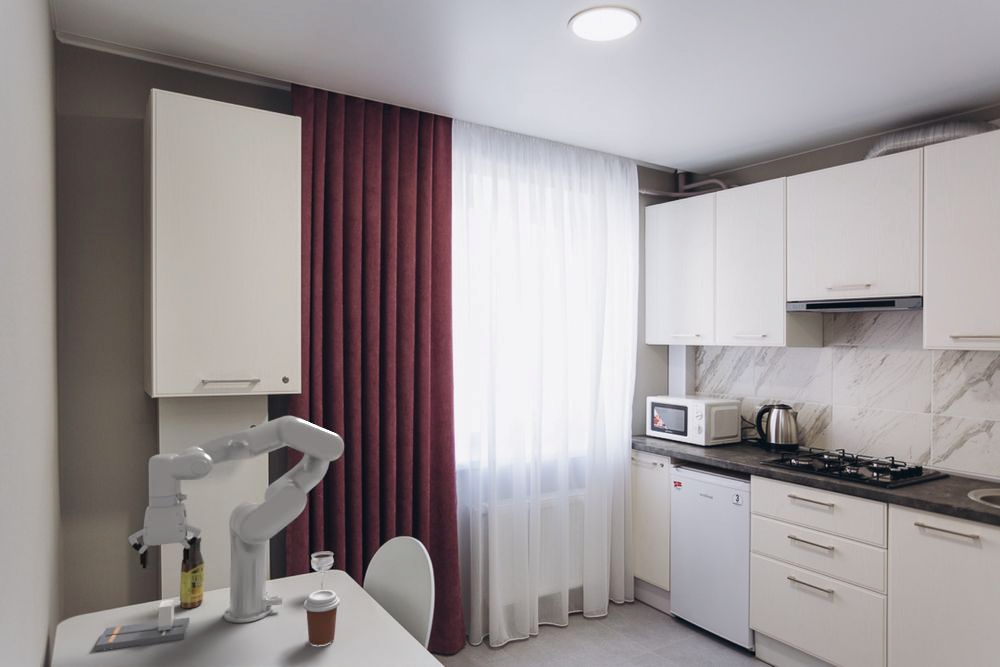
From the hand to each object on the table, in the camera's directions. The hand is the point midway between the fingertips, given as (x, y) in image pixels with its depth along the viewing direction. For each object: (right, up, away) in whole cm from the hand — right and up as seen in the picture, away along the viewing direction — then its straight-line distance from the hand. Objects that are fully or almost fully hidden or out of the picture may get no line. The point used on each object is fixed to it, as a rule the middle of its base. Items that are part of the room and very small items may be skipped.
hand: (165, 564), depth 166 cm
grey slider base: (-4, -18, -2) cm, 19 cm away
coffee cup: (+43, -19, -4) cm, 47 cm away
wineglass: (+34, -19, +26) cm, 47 cm away
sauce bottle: (-2, -19, +18) cm, 26 cm away
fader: (0, -16, 0) cm, 16 cm away
